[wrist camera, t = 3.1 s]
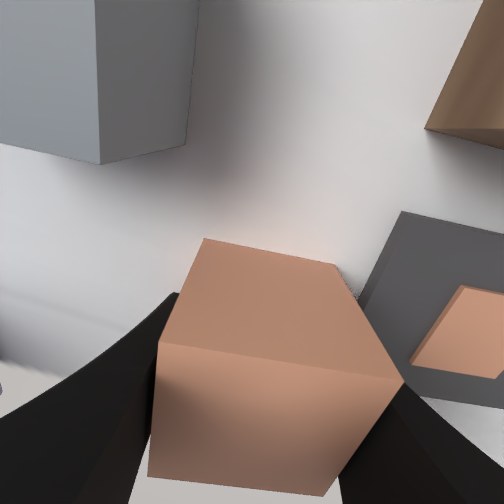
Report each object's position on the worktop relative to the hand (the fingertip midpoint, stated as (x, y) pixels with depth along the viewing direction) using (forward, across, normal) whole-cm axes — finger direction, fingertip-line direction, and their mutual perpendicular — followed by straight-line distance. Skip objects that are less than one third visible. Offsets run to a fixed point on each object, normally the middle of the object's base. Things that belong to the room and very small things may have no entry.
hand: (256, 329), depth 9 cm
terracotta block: (+1, 0, 0) cm, 1 cm away
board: (+1, -9, -1) cm, 9 cm away
